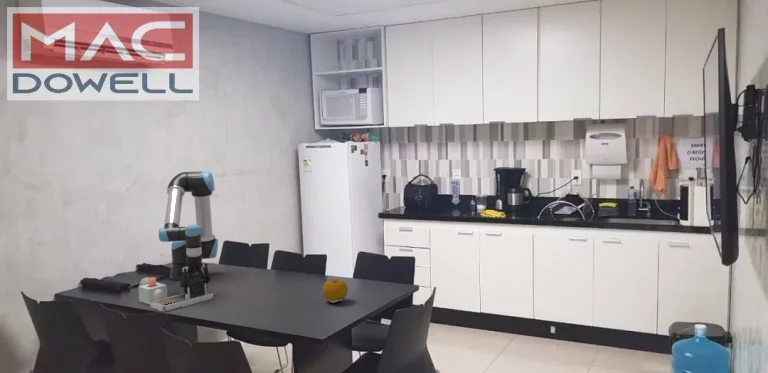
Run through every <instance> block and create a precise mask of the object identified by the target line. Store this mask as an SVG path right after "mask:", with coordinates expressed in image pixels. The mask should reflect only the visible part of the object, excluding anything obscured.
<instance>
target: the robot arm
mask: <svg viewBox="0 0 768 373" xmlns="http://www.w3.org/2000/svg"><path fill="white" fill-rule="evenodd" d="M166 188H167V190H166V193H167V196H168V197H167V204H166V210H165V211H166V212H165V218H164V224H163V225H164V227H159V230H158V239H159V241H160V242H163V243H165V242H166V243H169V242H171V248H170V249H171V265H172V266H171V269H170V272H169V273H170V274H169V278H170V280H172V281H180V283H179V287H180V288H182V289H183V293H184V294H185V296H186V299H185V300H187V299H190V292H189V287H188V285H189V282H190V280H191V279H195V278H196V277H197V276H199V278H203V280H204V294H208V293H207V289H208V284H209V282H211V280H212V279H211V276H210V272H209V269H208V263H206V262H203V260H207V259H208V260H210V259H215V258H216V257H217V256H218V255H217V254H218V249H219V248H218V245H219V239H218V238H216V235H215V234H214V233H213V224H212V212H211V211H212V209H211V196H212V194H213V192H215V188H216V187H215V180H214V177H213V173H211V172H210V171H203V170H202V171H201V170H199V171H183V172H179V173H178V174H176V175H175V176H173V178H172V179H171V180H170V182H169V183H168V185H167V187H166ZM186 193H190V194H191V196H192V197H193V198H194V206H195V207H194V210H195V219H196V221H195V222H196V224H190V225H187V226H180V222H181V212H182V205H183V197H184V196H185V194H186ZM202 269H203V270H202ZM197 274H198V275H197Z"/></svg>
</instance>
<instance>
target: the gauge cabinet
mask: <svg viewBox="0 0 768 373" xmlns="http://www.w3.org/2000/svg"><path fill="white" fill-rule="evenodd" d="M137 288H138V302H140V303H142V302H143V303H142V304H145V303H146V304H145V305H148V304H149V306H150V302H152V301H156V300H160V299H163V298H167V297H168V290H167V289H168V288H167V284H164V283H161V282H157V281H156V286H155V287H149V284H146V285H142V286H138V287H137Z"/></svg>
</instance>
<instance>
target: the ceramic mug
mask: <svg viewBox="0 0 768 373" xmlns="http://www.w3.org/2000/svg"><path fill="white" fill-rule="evenodd" d="M148 278H150V277H143V278H141V280H140V281H139V286H142V285H146V284H149V282H148Z"/></svg>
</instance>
